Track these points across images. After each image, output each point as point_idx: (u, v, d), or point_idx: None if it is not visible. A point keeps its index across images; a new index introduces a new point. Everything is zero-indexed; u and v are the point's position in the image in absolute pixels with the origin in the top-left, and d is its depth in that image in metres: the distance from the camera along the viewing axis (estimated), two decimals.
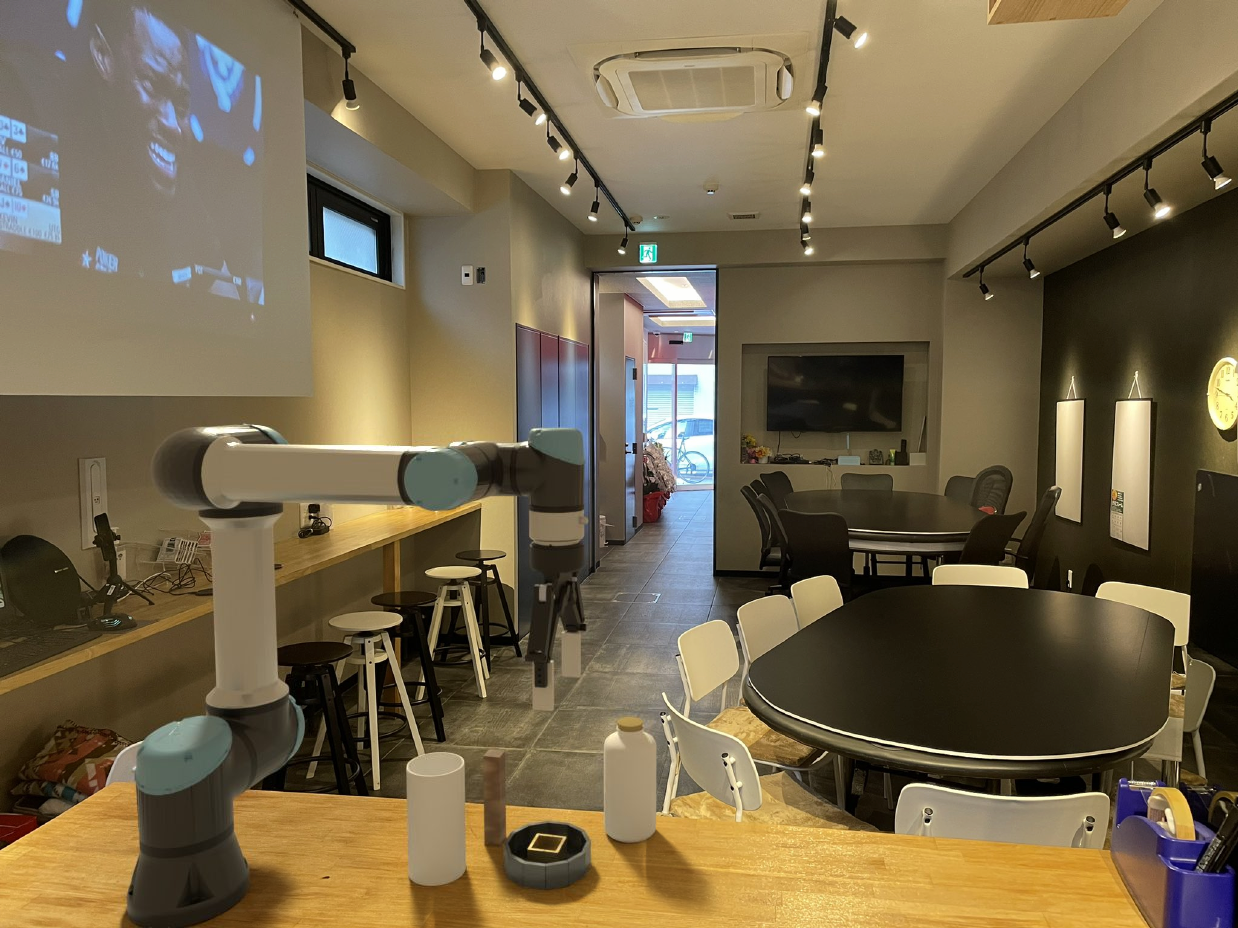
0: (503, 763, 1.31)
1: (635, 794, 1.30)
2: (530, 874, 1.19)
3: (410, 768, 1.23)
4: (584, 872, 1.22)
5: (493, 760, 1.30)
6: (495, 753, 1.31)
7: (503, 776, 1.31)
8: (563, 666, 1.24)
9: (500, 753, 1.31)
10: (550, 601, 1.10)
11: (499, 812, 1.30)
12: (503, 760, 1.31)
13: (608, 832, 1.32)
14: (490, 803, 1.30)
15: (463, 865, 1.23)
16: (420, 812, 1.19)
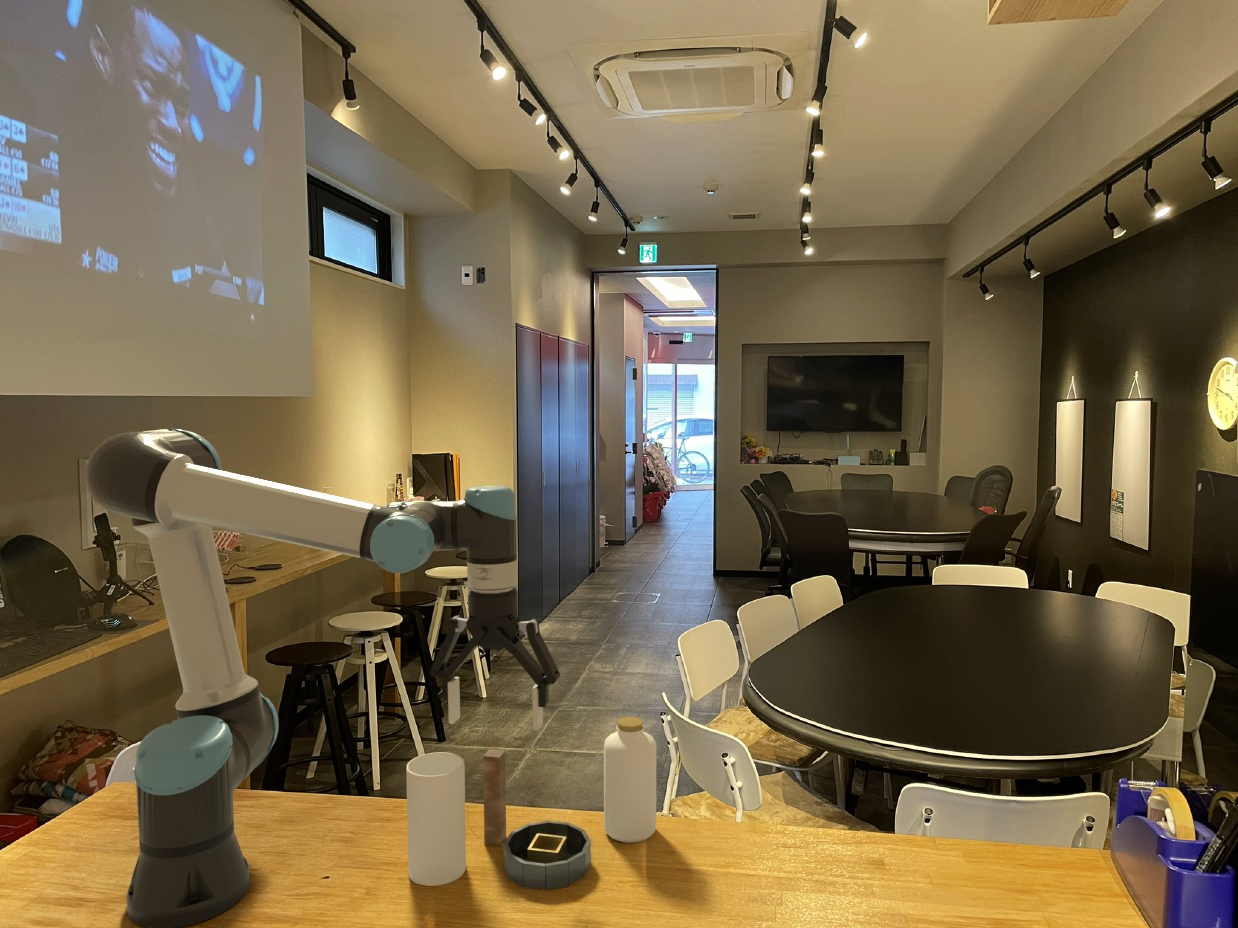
0: (503, 763, 1.31)
1: (635, 794, 1.30)
2: (530, 874, 1.19)
3: (410, 768, 1.23)
4: (584, 872, 1.22)
5: (493, 760, 1.30)
6: (495, 753, 1.31)
7: (503, 776, 1.31)
8: None
9: (500, 753, 1.31)
10: (448, 631, 1.30)
11: (499, 812, 1.30)
12: (503, 760, 1.31)
13: (608, 832, 1.32)
14: (490, 803, 1.30)
15: (463, 865, 1.23)
16: (420, 812, 1.19)
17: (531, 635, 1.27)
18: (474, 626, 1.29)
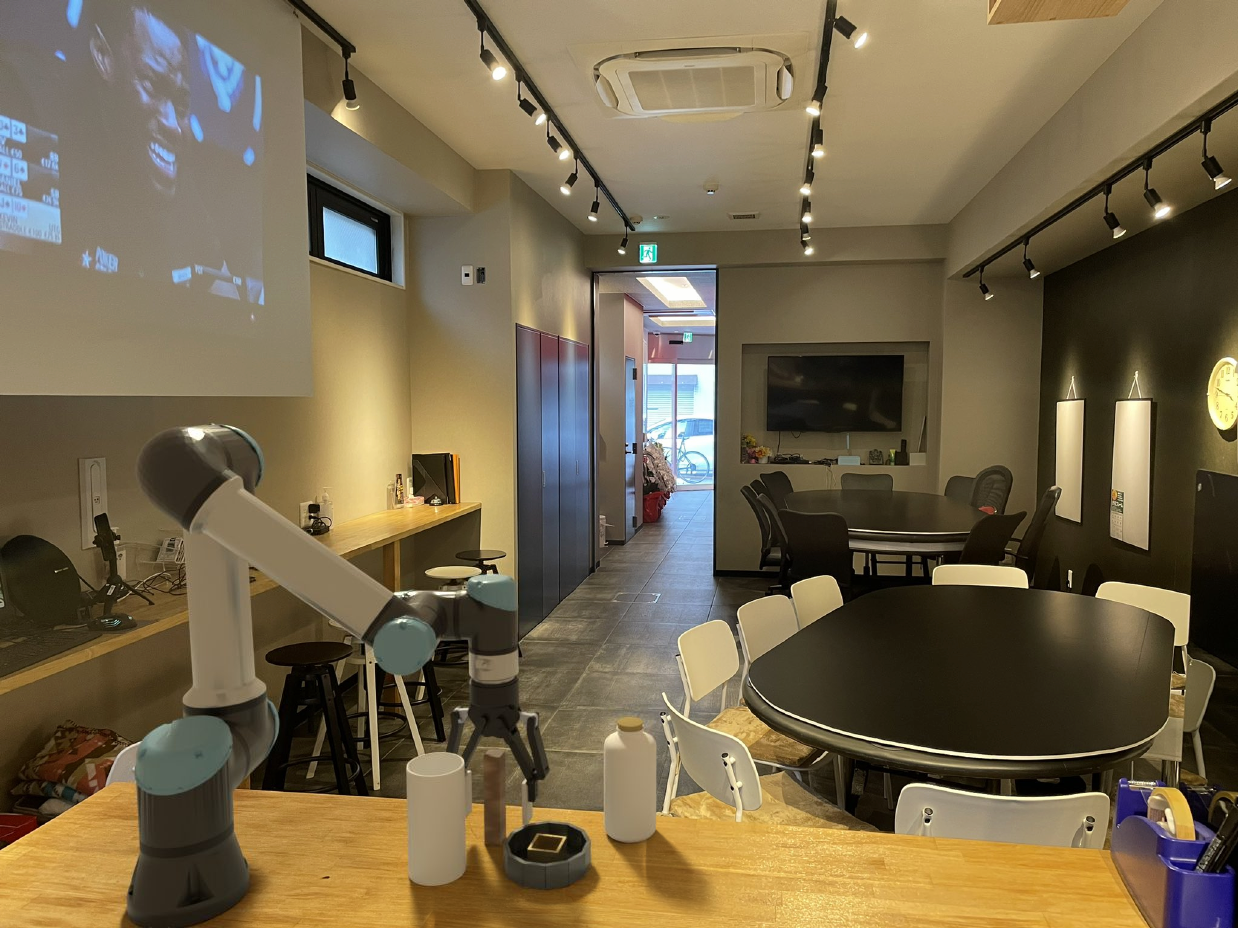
0: (503, 763, 1.31)
1: (635, 794, 1.30)
2: (530, 874, 1.19)
3: (410, 768, 1.23)
4: (584, 872, 1.22)
5: (494, 760, 1.30)
6: (495, 753, 1.31)
7: (503, 776, 1.31)
8: None
9: (500, 753, 1.31)
10: (451, 724, 1.31)
11: (499, 812, 1.30)
12: (503, 760, 1.31)
13: (608, 832, 1.32)
14: (490, 803, 1.30)
15: (463, 865, 1.23)
16: (420, 812, 1.19)
17: (530, 729, 1.28)
18: (475, 714, 1.30)
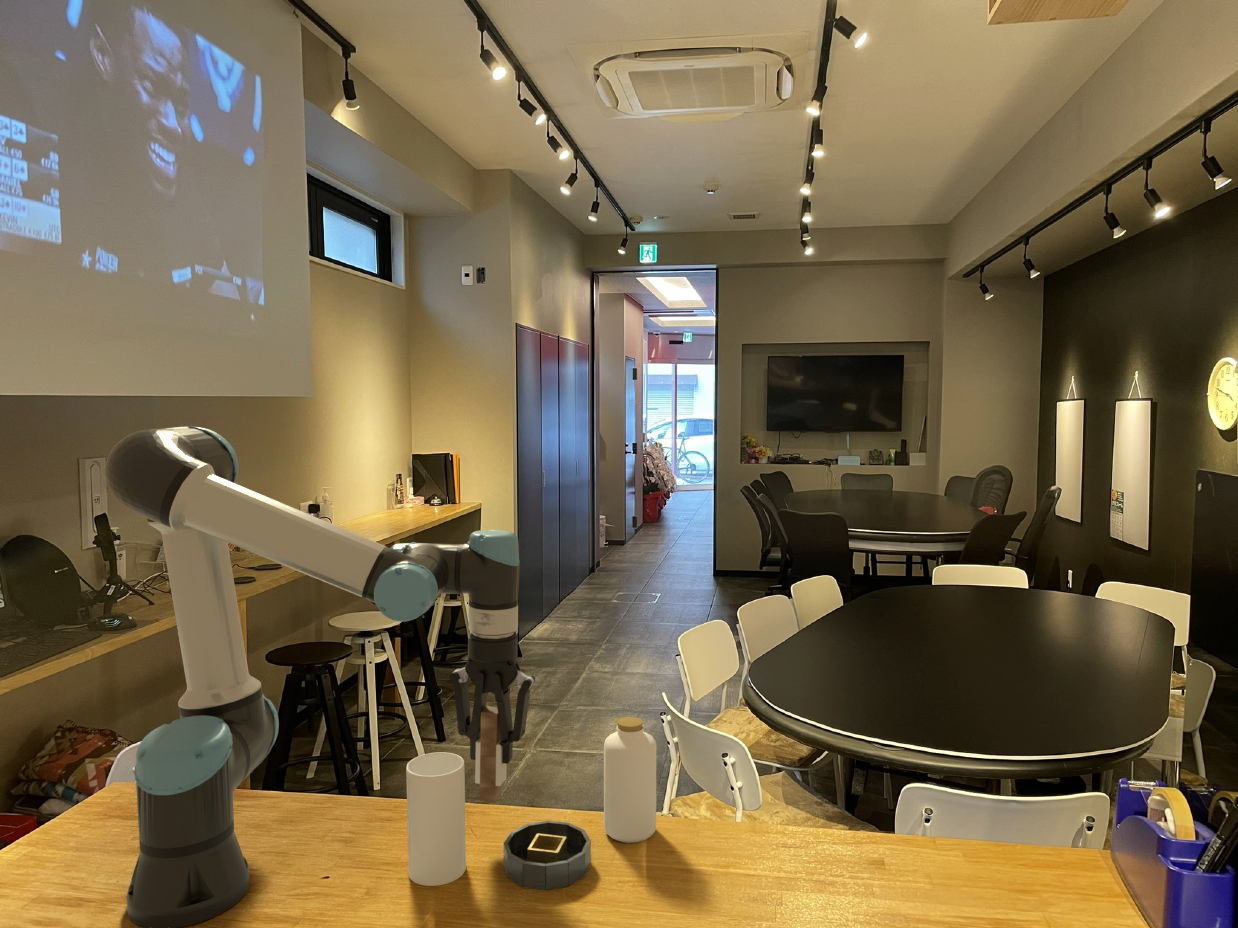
0: None
1: (635, 794, 1.30)
2: (530, 874, 1.19)
3: (410, 768, 1.23)
4: (584, 872, 1.22)
5: (491, 716, 1.29)
6: (492, 710, 1.30)
7: None
8: None
9: (497, 710, 1.30)
10: (454, 686, 1.30)
11: (495, 769, 1.30)
12: None
13: (608, 832, 1.32)
14: (486, 759, 1.30)
15: (463, 865, 1.23)
16: (420, 812, 1.19)
17: (523, 691, 1.28)
18: (473, 668, 1.29)
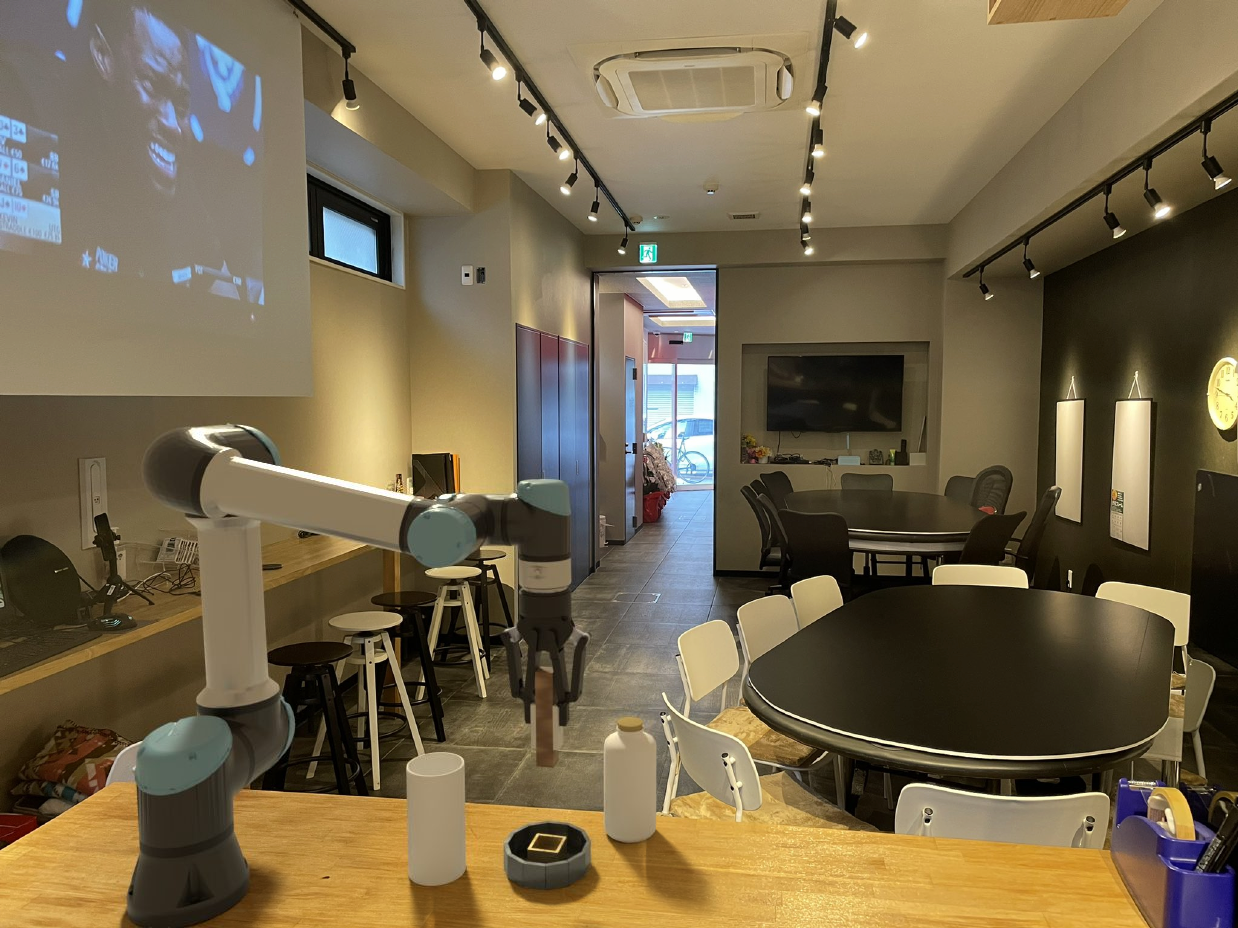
0: None
1: (635, 794, 1.30)
2: (530, 874, 1.19)
3: (410, 768, 1.23)
4: (584, 872, 1.22)
5: (546, 676, 1.22)
6: (547, 670, 1.23)
7: (556, 694, 1.23)
8: None
9: (552, 669, 1.23)
10: (505, 646, 1.23)
11: (552, 732, 1.22)
12: None
13: (608, 832, 1.32)
14: (542, 722, 1.22)
15: (463, 865, 1.23)
16: (420, 812, 1.19)
17: (579, 648, 1.20)
18: (525, 626, 1.22)
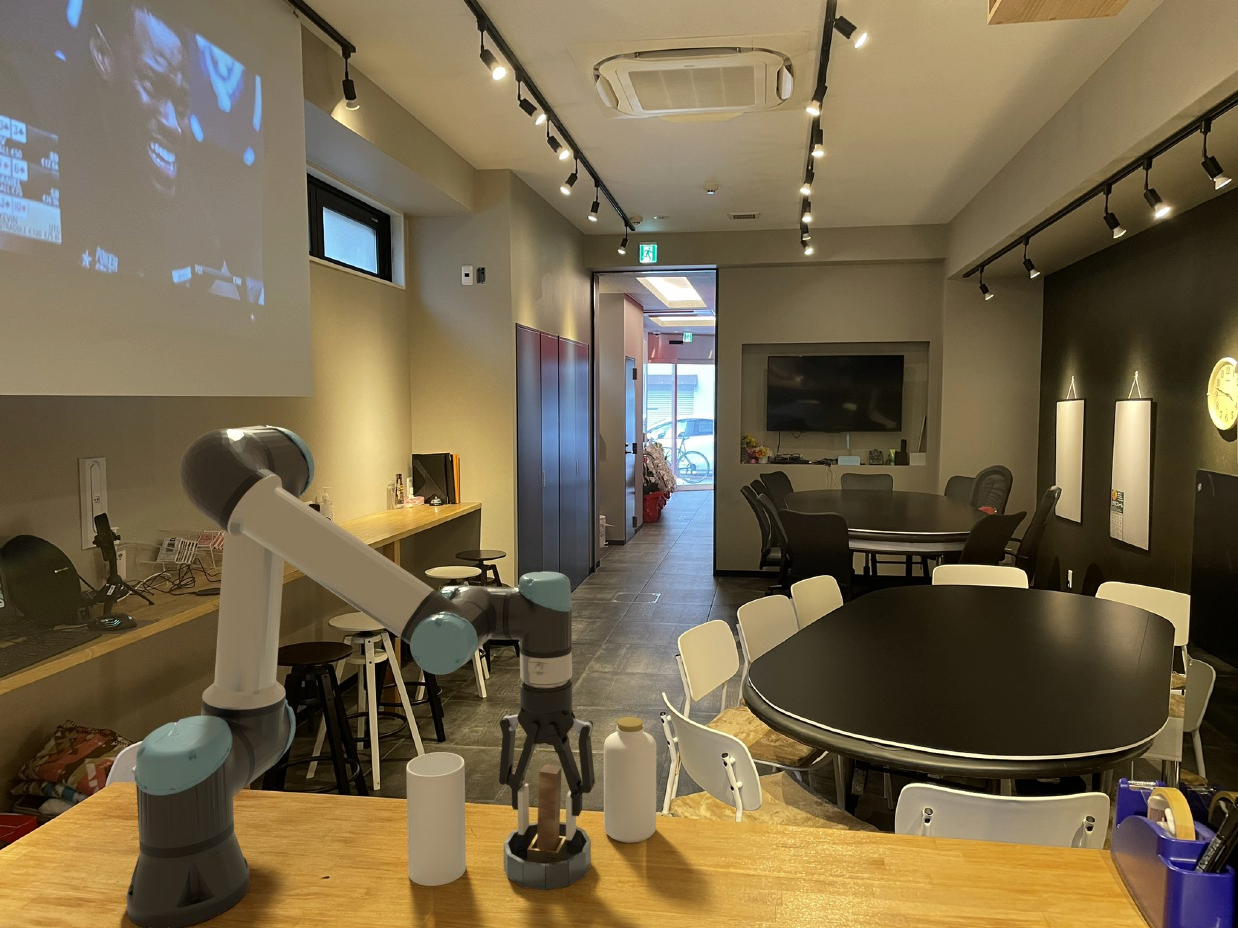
0: (559, 780, 1.24)
1: (635, 794, 1.30)
2: (530, 874, 1.19)
3: (410, 768, 1.23)
4: (584, 872, 1.22)
5: (550, 776, 1.23)
6: (551, 769, 1.24)
7: (559, 794, 1.25)
8: None
9: (556, 769, 1.24)
10: (502, 733, 1.24)
11: (553, 832, 1.23)
12: (559, 777, 1.25)
13: (608, 832, 1.32)
14: (544, 822, 1.23)
15: (463, 865, 1.23)
16: (420, 812, 1.19)
17: (583, 739, 1.21)
18: (526, 719, 1.23)
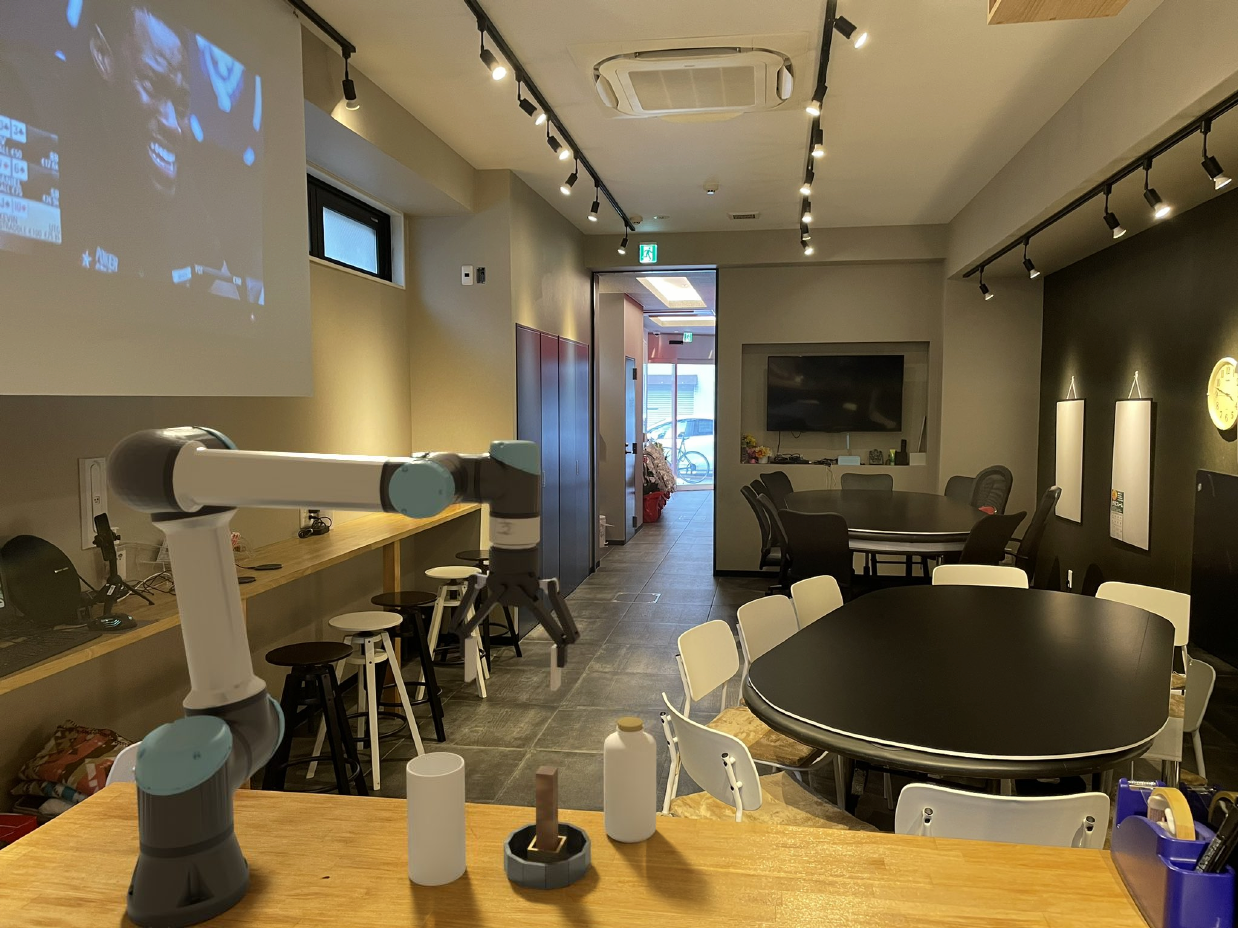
0: (556, 781, 1.24)
1: (635, 794, 1.30)
2: (530, 874, 1.19)
3: (410, 768, 1.23)
4: (584, 872, 1.22)
5: (547, 778, 1.23)
6: (547, 770, 1.24)
7: (556, 794, 1.24)
8: None
9: (553, 770, 1.24)
10: (467, 587, 1.27)
11: (552, 833, 1.23)
12: (556, 778, 1.24)
13: (608, 832, 1.32)
14: (542, 823, 1.23)
15: (463, 865, 1.23)
16: (420, 812, 1.19)
17: (552, 593, 1.24)
18: (494, 582, 1.26)
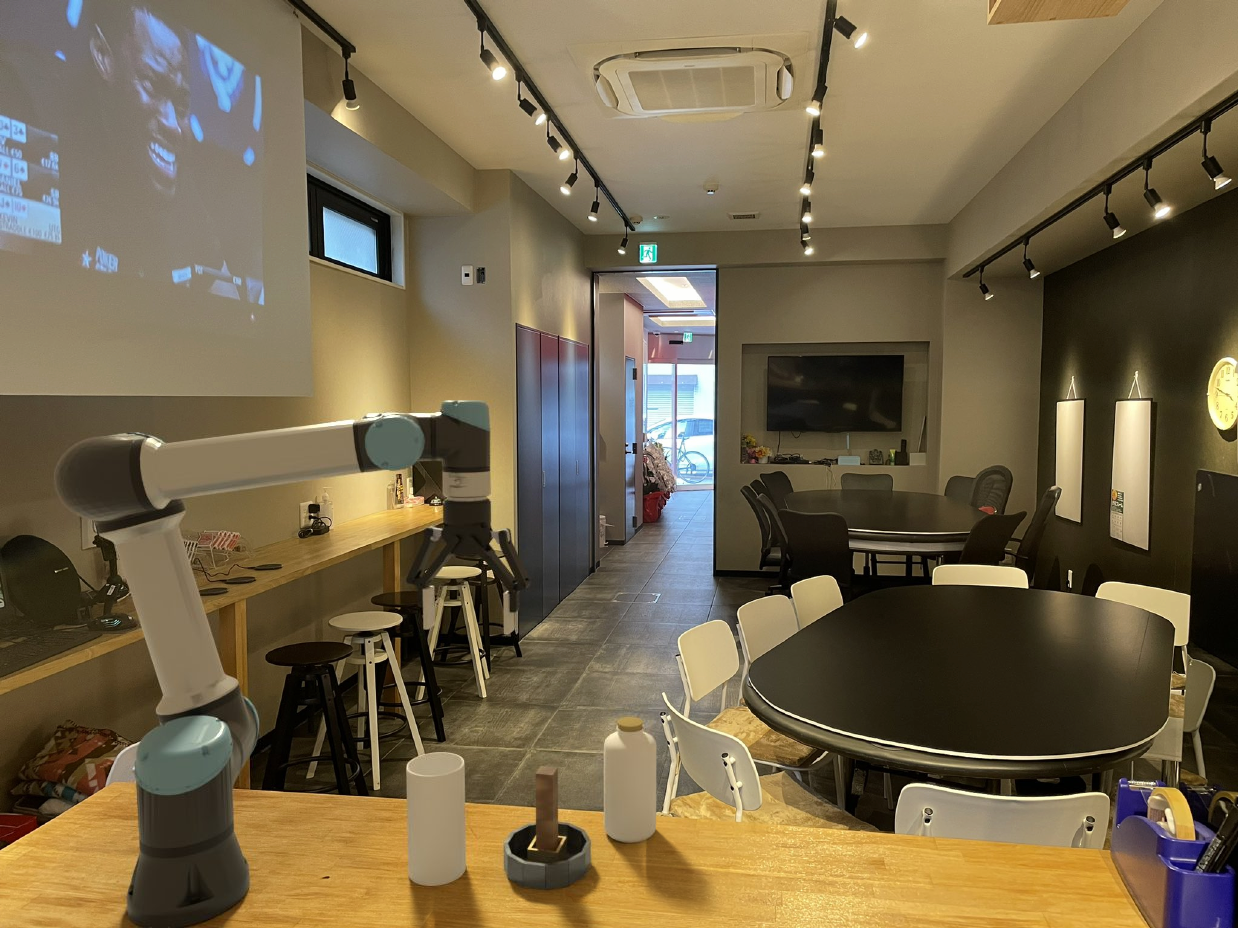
0: (556, 781, 1.24)
1: (635, 794, 1.30)
2: (530, 874, 1.19)
3: (410, 768, 1.23)
4: (584, 872, 1.22)
5: (546, 778, 1.23)
6: (547, 770, 1.24)
7: (556, 794, 1.24)
8: None
9: (552, 770, 1.24)
10: (423, 539, 1.35)
11: (552, 833, 1.23)
12: (556, 778, 1.24)
13: (608, 832, 1.32)
14: (542, 823, 1.23)
15: (463, 865, 1.23)
16: (420, 812, 1.19)
17: (503, 542, 1.32)
18: (448, 534, 1.34)
